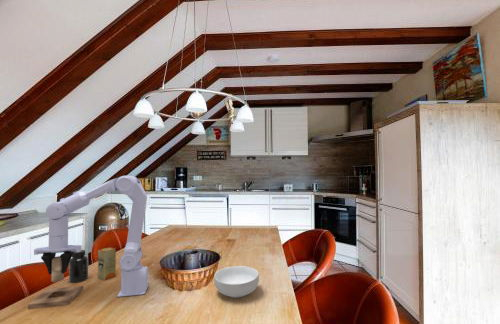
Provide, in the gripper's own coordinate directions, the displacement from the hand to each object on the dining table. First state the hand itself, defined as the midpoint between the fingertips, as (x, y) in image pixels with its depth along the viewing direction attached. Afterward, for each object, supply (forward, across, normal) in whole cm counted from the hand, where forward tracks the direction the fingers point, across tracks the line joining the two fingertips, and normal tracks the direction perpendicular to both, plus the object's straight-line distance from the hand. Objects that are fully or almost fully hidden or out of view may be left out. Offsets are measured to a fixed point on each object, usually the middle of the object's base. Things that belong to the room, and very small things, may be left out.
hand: (57, 272), depth 94 cm
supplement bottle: (+9, 0, -17) cm, 19 cm away
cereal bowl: (+9, -64, +10) cm, 65 cm away
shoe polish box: (+9, -11, -17) cm, 22 cm away
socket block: (+9, 0, 0) cm, 9 cm away
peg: (+2, 0, 0) cm, 3 cm away
